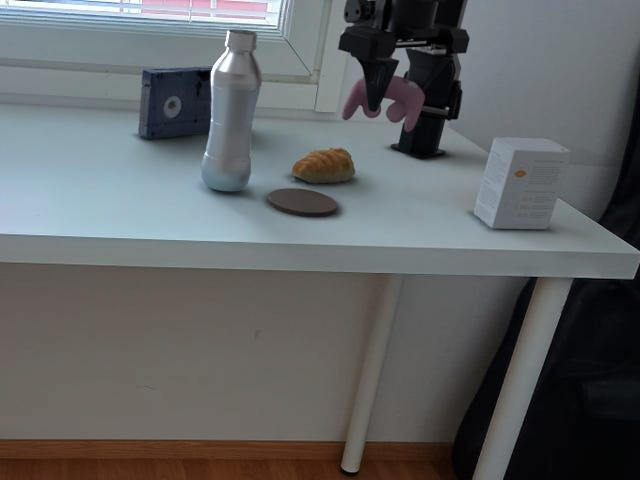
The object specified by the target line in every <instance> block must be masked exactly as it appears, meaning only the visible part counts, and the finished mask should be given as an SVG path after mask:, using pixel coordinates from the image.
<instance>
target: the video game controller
mask: <svg viewBox="0 0 640 480" xmlns="http://www.w3.org/2000/svg"><path fill="white" fill-rule="evenodd" d="M403 77H404V76H403ZM403 77H402V76H399V75H395V74H394V75H393V77H392V80H391V82H390V84H389V86H388V89H387V91H386V93H385V96H384V98H383V99H386V100H391V101H394V102H392V103H390V104H389V106H387V108H386V111H385V116H386V119H388V121H389V122H391V123H392V124H397V123H400V122H401V121H402V120H405V122H404V121H403V123H404V129H405V131H406V132H409V131H411V130H412V129H413V128H414V126H415V124H416V122H417V120H418V117H419V114H420V112H421V108H422V105H423V103H424V100H425V96H424V93H423V91H422V90H421V88H420V87H419V86H418V85H417V84H416V83H414V82H411V81H409V80H407V79H405V78H403ZM359 107H361V108H362V112H363V114H364V116H365V117H367V118H369V119H376V118H377V117H379V116H380V114H381V112H382V104H380V106H379V108H378V110H377V111H376V112H372V111H370V110H369V108H368V101H367V93H366V85H365V78H364V75H363V76H362V77H361V78H359V79H358V80H357V81H355V83H354V84H353V85H352V87H351V89H350V91H349V92H348V95H347V97H346V99H345V101H344V104H343V107H342V112H341V118H342V120H343V121H348V120H350V119H351V118H352V117H353V116H354V114H355V113H356V112H357V111H358V109H359ZM405 116H406V117H405Z"/></svg>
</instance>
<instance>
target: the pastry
mask: <svg viewBox="0 0 640 480" xmlns="http://www.w3.org/2000/svg"><path fill="white" fill-rule="evenodd" d="M355 175H356V168H355V163H354V161H353V159H352V155H351V153H350V152H349V151H348V150H346V149H344V148H342V147H336V148H334V147H329V149H320V150H313V151H310V152H309V153H308V154H307V155H305V156H304V157H301V158H299V160H297V161H296V162H295V163H294V164H293V165H292V171H291V176H292V177H293V176H294V177H295V178H298V179H301V180H303V181H306V182H308V183H311V184H314V185H315V184H316V185H317V184H328V183H329V184H330V183H332V184H333V183H340V182H341V181H343V182H347V181H349V180H351V178H352V177H354V176H355Z"/></svg>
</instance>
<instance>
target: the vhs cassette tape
mask: <svg viewBox="0 0 640 480" xmlns="http://www.w3.org/2000/svg"><path fill="white" fill-rule="evenodd" d="M213 67H214V65H210V66H208V65H207V66H187V67H170V68H149V69H142V75H141V89H140V104H139V115H138V119H139V120H138V121H139V122H138V130H137V131H138V135H139V136H141V137H142V138H144V139H146V140H153V139H161V138H162V139H163V138H170V137H180V136H190V135H202V134H209V131H210V125H211V117H212V116H211V106H212V99H211V72H212V69H213Z"/></svg>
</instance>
